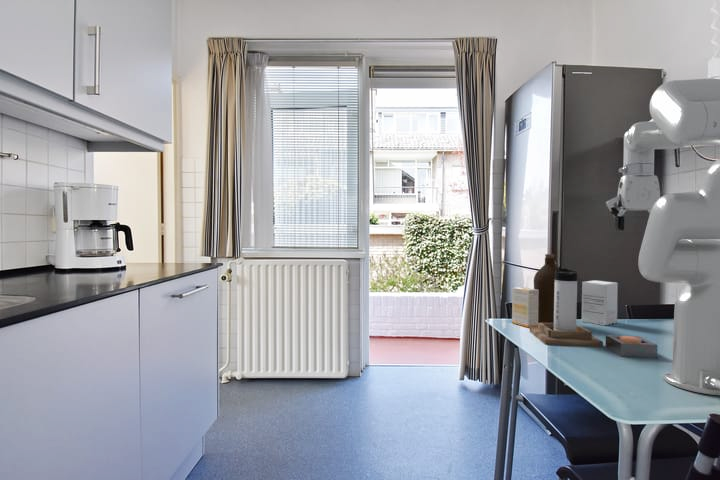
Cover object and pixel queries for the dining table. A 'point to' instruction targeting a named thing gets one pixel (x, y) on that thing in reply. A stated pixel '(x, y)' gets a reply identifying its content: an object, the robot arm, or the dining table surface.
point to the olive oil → (546, 289)
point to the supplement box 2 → (599, 302)
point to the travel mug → (565, 300)
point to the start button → (630, 339)
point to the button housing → (631, 347)
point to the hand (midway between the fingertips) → (637, 230)
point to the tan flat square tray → (565, 336)
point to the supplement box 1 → (525, 306)
